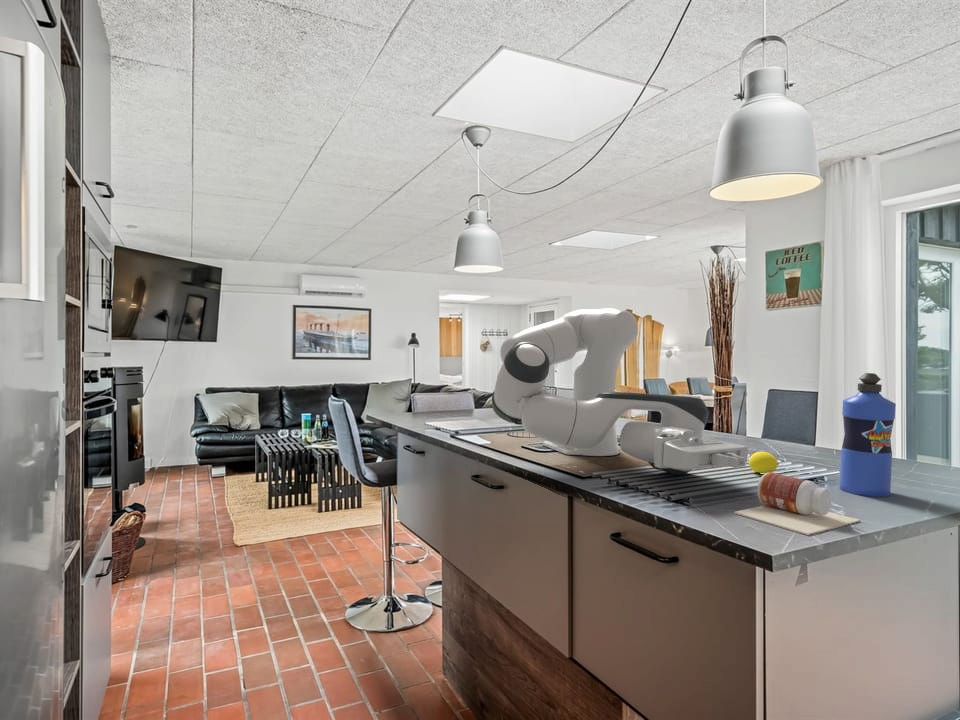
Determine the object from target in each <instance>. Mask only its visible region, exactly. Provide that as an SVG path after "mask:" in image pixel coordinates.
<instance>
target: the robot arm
mask: <svg viewBox="0 0 960 720" xmlns="http://www.w3.org/2000/svg"><path fill="white" fill-rule="evenodd" d="M638 333H639V324H638V320H637V319H636V317H635V315H634V314H632V313H631V312H630V311H628V310H625V309H621V308H614V307H609V308H607V307H605V308H602V307H601V308H585V309H584V308H583V309H576V310H572V311H570V312H567V313H564V314H563V315H562V316H561V317H559V318H557V319H555V320H551V321H548V322H544V323H541V324H537V325H534V326H531V327H528V328H525V329H523V330H521V331H518V332H517V333H515V334H514V333H513V335H510V336H509V337H508V338H505V340H504V341H503V342H502V344H501V346H500V358H501V362H502V365H501V366H500V369H499V371H498V374H497V377H496V381H495V385H494V390H493V392H492V394H491V395H492V396H491V408H492V410H493V412H494V413H495V415H496V416H498V417H499V418H501V420H503V421H506V422H508V423H511V424H514V425H518V426H522V427H523V429H524V431H525V432H526V433H528V434H530V435H532V436H533V437H535V438H538V439H541V440H543V442H542V445H543V446H544V447H547V448H549V449H552V450H554V451H557V452H559V453H562V454H563V455H574V456H575V455H577V456H588V457H589V456H590V457H607V456H615V455H618V454H619V453H620V450H621V451H622V452H623V453H624V454H626V455H628V456H630V457H633V458H635V459H637V460H641V461H643V462H647V463H648V465H649V466H650V467H652V468H653V469H654V470H657V471H664V472H666V473H669V474H673V475H677V476H684V475H685V474H688V473H690V472H691V471H692V470H698V469H699V470H700V469H707V468H716V467H717V468H718V467H723V466H724V467H731V468H741V467H746V465H747V462H748V457H749V456H748V455H749V449H748V447H747V446H746V445H742V444H737V443H730V442H727V441H726V442H725V441H703V440H702V439H703V435H704V430H705V427H706V424H707V423H708V422H707V421H708V418H709V416H710V411H709V409H708V407H707V404H705V403H706V402H705V401H704V400H703V399H702V398H699V397H698V396H696V395H692V394H685V393H680V394H679V393H677V394H667V395H666V394H657V393H656V394H655V393H643V392H642V393H641V392H630V391H627V392H626V391H625V392H619V391H616V381H617V380H616V379H617V372H618V368H619V365H620V362H621V359H622V357H623V356H624V353H625V352H626V350H627V349H628V348H629V347H630V346H632V345H633V344H634V343H635V341H636V339H637V337H638ZM581 351H586V355H585V357H584V359H583V361H582V363H581V364H580V365H578V366H577V367H576V369H575V371H574V374H573V376H574V377H573V398H571V397H565V396H562V395H561V396H558V395H555V394H552V393H551V392H548V391H547V390H546V389H543V388H544V385H545V382H546V379H547V377H548V375H549V372H550V367H552V366H555V365H559V364H561V363H564V362H568V361H571V360H572V359H573V358H574V357H575V355H576V354H577V353H579V352H581ZM631 410H633V411H635V410H636V411H649V412H659V413H660V414H661V419H660V423H656V422H650V421H649V422H648V421H639V420H638V421H629V422H626V423H625V424H624V426H623V427H622V428H621V431H620V436H619V444H618V434H617V421H618V420H619V418H621V416H622V415H623V414H624V413H626V412H629V411H631Z"/></svg>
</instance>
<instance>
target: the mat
mask: <svg viewBox="0 0 960 720" xmlns="http://www.w3.org/2000/svg"><path fill="white" fill-rule="evenodd" d="M733 514H735V515H739V516H741V517H745V518H747V519H752V520H754V521H758V522H762V523H764V524H768V525H770V526H775V527H779V528H782V529H786V530H789V531H791V532H795V533H798V534H801V533H802V534H801V535H804V534H805V535H804V536H812V535H814V534H815V535H816V534H819V533H822V532H827V531H830V530H833V529H837V528H841V527H845V525H846V526H849V525H853V524H857V523H860V522H861V519H859V518H854V517H850V516H846V515H844V514H843V515H842V514H839V513H835V512H832V511H829V512H828V513H827V514H826V515H819V514H816V513H814V512H813V513H812V514H809V515H803V514H798V513H795V512H791V511H787V510H783V509H779V508H775V507H772V506H768V505H764V504H763V505H761V506H756V507H750V508H746V509H741V510H737V511H733ZM859 521H860V522H859ZM856 522H857V523H856ZM852 523H853V524H852ZM848 524H849V525H848ZM826 530H827V531H826ZM811 534H812V535H811Z"/></svg>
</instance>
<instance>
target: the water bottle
mask: <svg viewBox="0 0 960 720" xmlns="http://www.w3.org/2000/svg"><path fill="white" fill-rule="evenodd" d="M858 380H860V381H861V382H859V383H857V391H858V392H857V393H856V394H855V395H852V396H850V397H848V398H845V399H843V400H842V410H841V411H842V412H841V415H842V416H843V417H842V419H843V431H844V435H843V440H842V445H841V453H840V468H839V469H840V472H839V473H840V474H839V489H840V490H841V491H843V492H845V493H849V494H853V495H857V496H861V497H862V496H864V497H871V498H887V497H890V496H891V487H892V486H891V485H892V469H893V468H892V466H893V465H892V464H893V452H892V442H891V437H892V433H893V426H894V421H895V420H896V406H897V405H896V403H895V402H893V401H892V400H890V399H888V398H886V397H884V396H883V395H881V393H882V386H883V385H882V383H881V384H879V382H880V381H881V380H882V378H881V377H879V375H877V374H876V373H873V372H871V373H870V372H865V373H863V375H861V376H860V377H859V378H858Z"/></svg>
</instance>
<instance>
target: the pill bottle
mask: <svg viewBox="0 0 960 720" xmlns="http://www.w3.org/2000/svg"><path fill="white" fill-rule="evenodd" d="M756 490H757V491H756V492H757V497H758V501H759V502H760V503H761V504H763V506H764V505H768V506H772V507H775V508H779V509H783V510H787V511H791V512H795V513H798V514H803V515H809V514H812V513H813V512H814V513H816V514H819V515H826V514H827V513H828V512H830V509H831V507H832V504H833V495H832V492H831V490H830V489H828V488H824V487H818V486H817V484H816V483H815V482H813V481H811V480H807V479H802V478H797V477H793V476H789V475H783V474H780V473H779V474H778V473H774V472H772V473H770V472H769V473H765V474H764V475H763V474H762V475H761V477H760V478H759V480H758V483H757V488H756Z"/></svg>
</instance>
